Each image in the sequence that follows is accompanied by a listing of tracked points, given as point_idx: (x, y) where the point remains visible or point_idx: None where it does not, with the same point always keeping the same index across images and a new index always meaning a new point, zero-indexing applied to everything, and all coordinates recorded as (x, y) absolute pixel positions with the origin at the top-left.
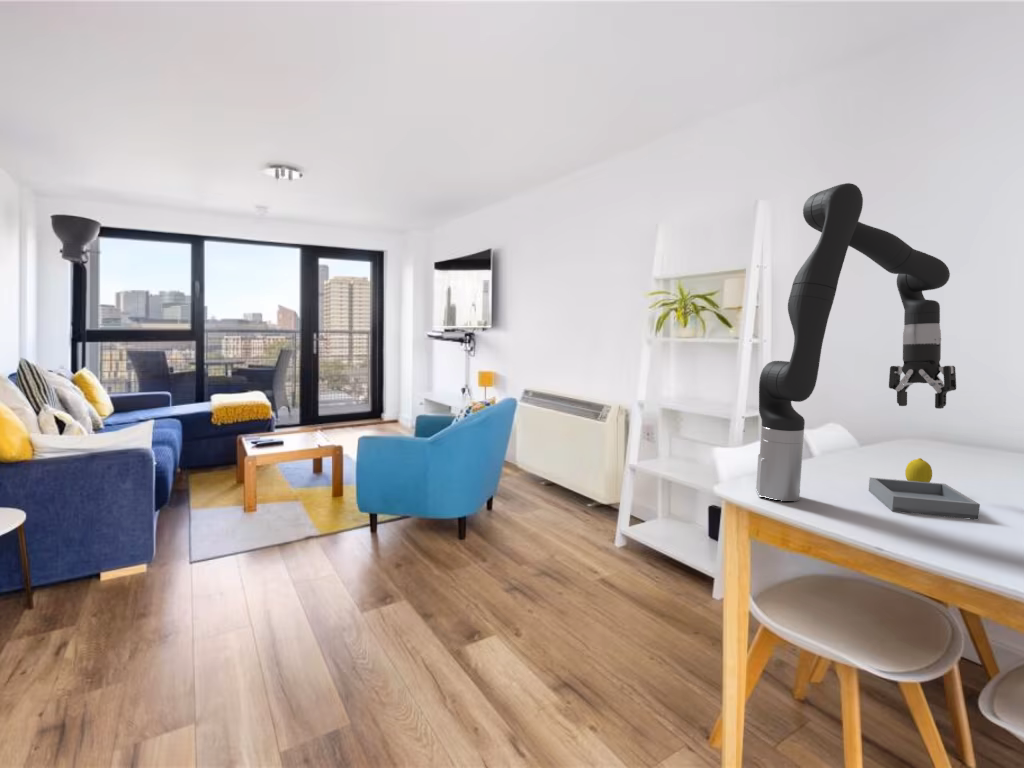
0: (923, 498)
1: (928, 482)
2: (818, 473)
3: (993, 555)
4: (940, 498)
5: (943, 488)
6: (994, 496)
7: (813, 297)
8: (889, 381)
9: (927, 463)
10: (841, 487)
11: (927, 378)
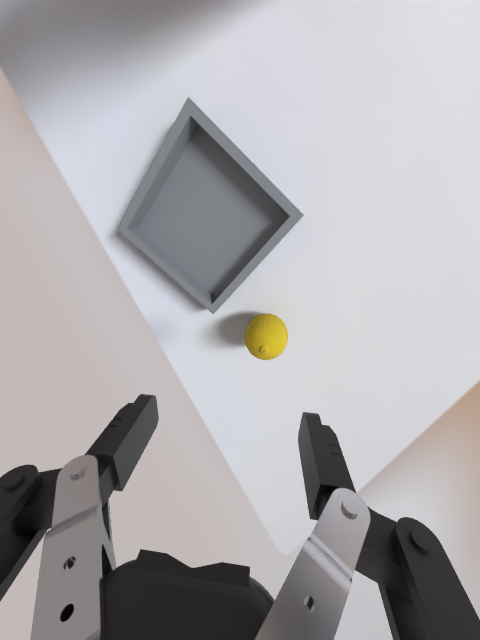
0: (161, 156)
1: (228, 295)
2: (442, 245)
3: (13, 48)
4: (202, 271)
5: (208, 298)
6: (198, 376)
7: None
8: (470, 610)
9: (250, 348)
10: (347, 179)
11: (70, 596)
